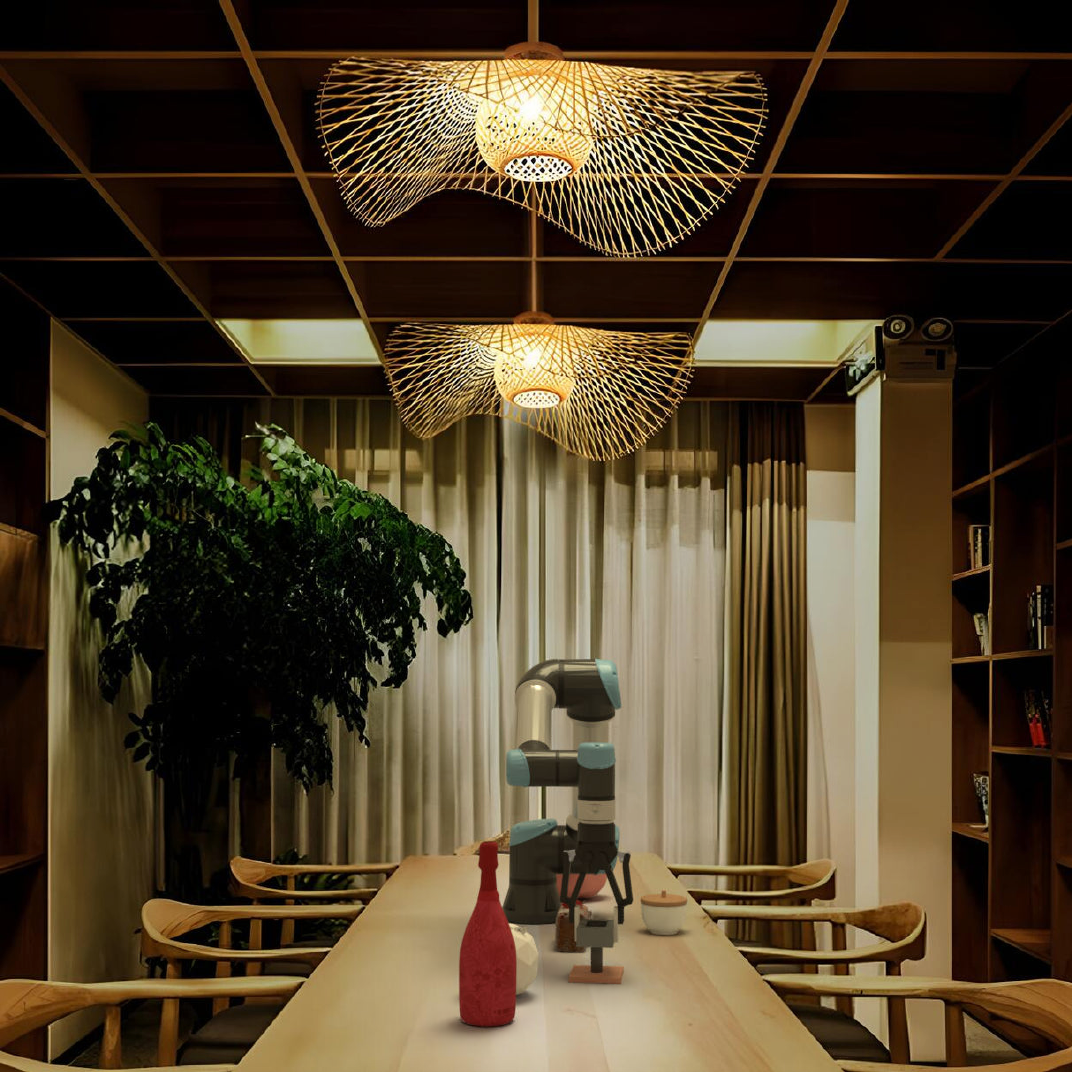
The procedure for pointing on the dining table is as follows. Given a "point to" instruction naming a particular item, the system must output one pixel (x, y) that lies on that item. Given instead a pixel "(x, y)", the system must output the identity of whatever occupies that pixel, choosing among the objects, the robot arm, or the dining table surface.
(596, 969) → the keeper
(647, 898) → the lidded jar
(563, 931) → the food item
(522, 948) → the geodesic sphere
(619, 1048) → the dining table surface
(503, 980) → the wine bottle
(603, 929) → the grey hollow block
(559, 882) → the cell model
